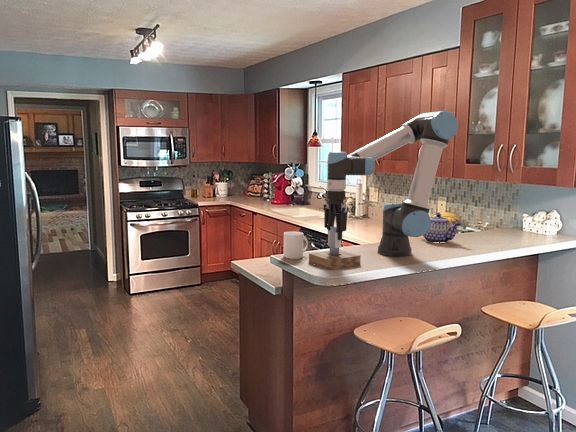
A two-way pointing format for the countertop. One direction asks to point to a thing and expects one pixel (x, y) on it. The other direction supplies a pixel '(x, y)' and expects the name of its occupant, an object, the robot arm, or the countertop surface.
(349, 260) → the board
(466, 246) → the countertop surface
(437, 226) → the teapot
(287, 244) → the mug
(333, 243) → the dowel
